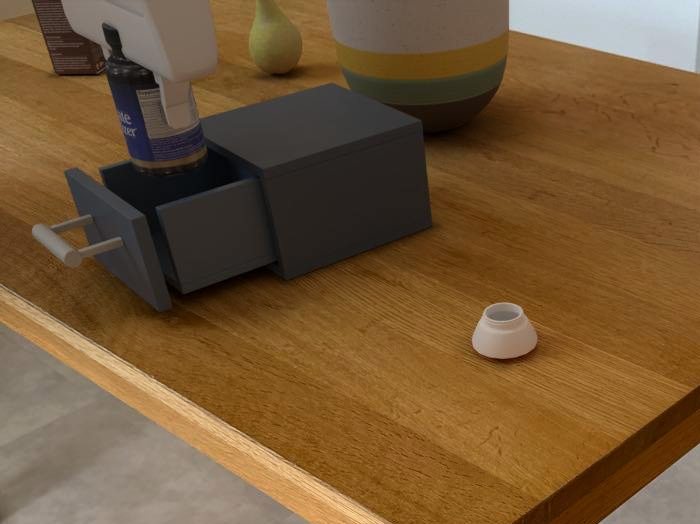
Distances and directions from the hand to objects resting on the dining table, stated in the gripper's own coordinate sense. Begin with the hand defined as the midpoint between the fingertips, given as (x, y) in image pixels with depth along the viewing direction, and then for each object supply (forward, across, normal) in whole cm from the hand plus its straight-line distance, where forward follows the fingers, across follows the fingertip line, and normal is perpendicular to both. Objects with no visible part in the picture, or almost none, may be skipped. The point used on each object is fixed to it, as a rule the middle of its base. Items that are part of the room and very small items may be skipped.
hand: (158, 114), depth 81 cm
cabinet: (+13, 0, +12) cm, 18 cm away
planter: (+14, -15, +36) cm, 42 cm away
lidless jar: (+14, +29, +11) cm, 34 cm away
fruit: (+14, -44, +33) cm, 57 cm away
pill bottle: (+4, 0, 0) cm, 4 cm away
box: (+14, -65, +15) cm, 68 cm away
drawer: (+12, 0, -2) cm, 13 cm away
